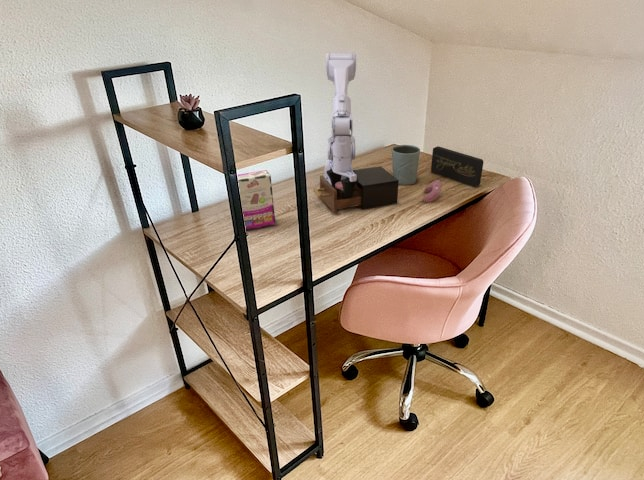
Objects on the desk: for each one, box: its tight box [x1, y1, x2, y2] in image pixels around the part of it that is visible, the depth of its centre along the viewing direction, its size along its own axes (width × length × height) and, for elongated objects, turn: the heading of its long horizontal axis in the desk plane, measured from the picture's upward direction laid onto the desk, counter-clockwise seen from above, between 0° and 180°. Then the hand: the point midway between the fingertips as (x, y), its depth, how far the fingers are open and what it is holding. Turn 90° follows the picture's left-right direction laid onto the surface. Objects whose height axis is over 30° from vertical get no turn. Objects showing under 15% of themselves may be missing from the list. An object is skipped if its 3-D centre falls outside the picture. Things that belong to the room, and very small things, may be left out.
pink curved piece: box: [422, 179, 443, 203], centre depth 168 cm, size 10×5×7 cm, turn 168°
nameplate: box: [430, 145, 484, 188], centre depth 181 cm, size 21×2×10 cm, turn 43°
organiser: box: [352, 165, 399, 210], centre depth 167 cm, size 13×14×8 cm
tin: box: [335, 182, 345, 200], centre depth 163 cm, size 5×5×5 cm
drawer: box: [312, 175, 362, 215], centre depth 163 cm, size 16×14×8 cm
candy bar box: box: [237, 169, 276, 231], centre depth 148 cm, size 11×5×16 cm, turn 114°
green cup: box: [391, 144, 421, 186], centre depth 179 cm, size 10×10×12 cm
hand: (342, 194), depth 164 cm, fingers open, 7 cm apart
